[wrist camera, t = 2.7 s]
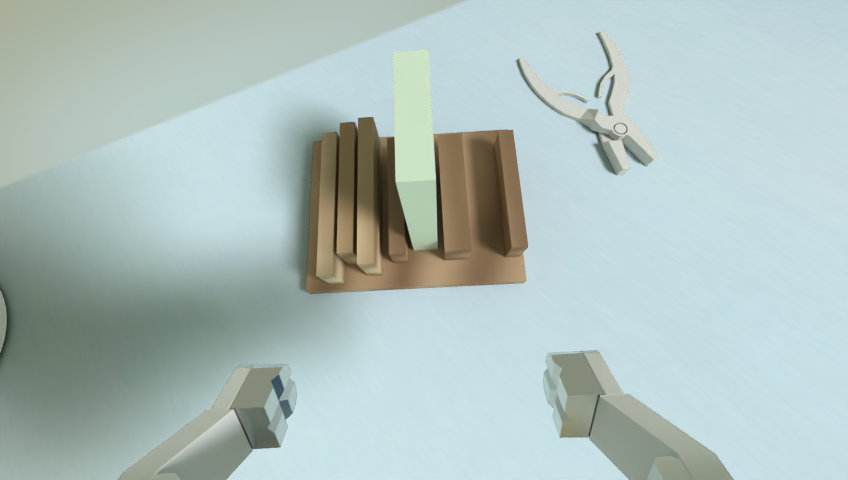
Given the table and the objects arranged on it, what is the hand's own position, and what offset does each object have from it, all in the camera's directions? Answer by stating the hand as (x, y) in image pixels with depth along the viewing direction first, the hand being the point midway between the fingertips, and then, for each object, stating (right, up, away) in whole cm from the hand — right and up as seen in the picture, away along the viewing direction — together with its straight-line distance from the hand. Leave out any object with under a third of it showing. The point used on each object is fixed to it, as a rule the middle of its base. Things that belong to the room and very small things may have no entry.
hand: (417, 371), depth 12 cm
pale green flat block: (0, +7, +20) cm, 21 cm away
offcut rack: (-1, +7, +21) cm, 22 cm away
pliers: (+17, +17, +24) cm, 34 cm away
